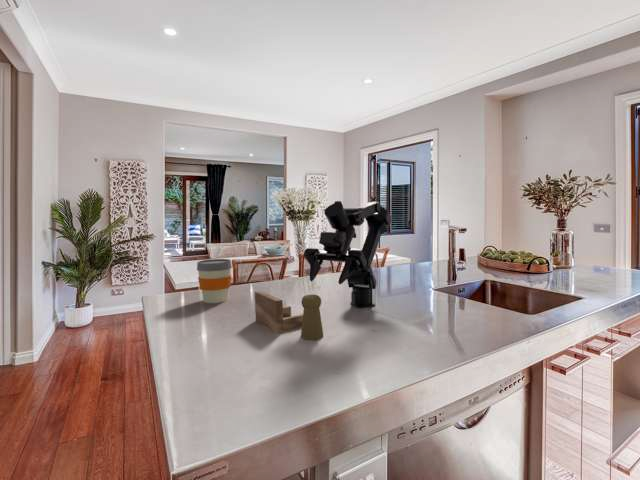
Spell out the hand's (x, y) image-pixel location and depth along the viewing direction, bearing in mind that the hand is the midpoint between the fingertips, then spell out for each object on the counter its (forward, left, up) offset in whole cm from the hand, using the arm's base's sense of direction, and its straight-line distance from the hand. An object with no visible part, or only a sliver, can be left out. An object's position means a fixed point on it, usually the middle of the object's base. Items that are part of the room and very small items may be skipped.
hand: (324, 282), depth 96 cm
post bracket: (+9, -10, -13) cm, 19 cm away
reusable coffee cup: (+25, -47, -13) cm, 54 cm away
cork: (+6, +4, -13) cm, 15 cm away
